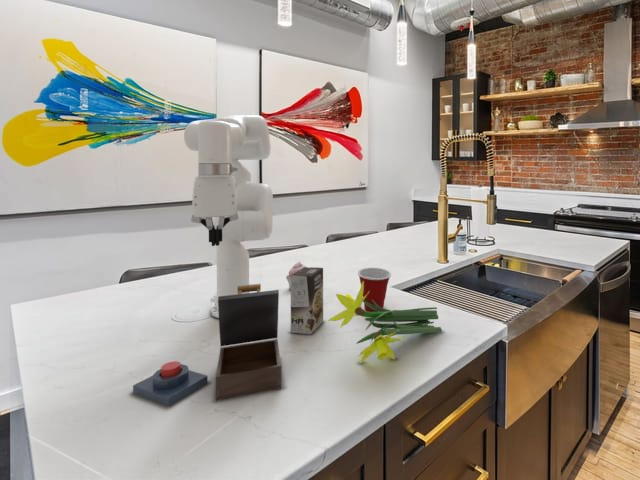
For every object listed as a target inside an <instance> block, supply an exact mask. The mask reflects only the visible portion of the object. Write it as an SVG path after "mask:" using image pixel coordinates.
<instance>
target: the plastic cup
mask: <svg viewBox="0 0 640 480" xmlns="http://www.w3.org/2000/svg"><path fill="white" fill-rule="evenodd" d="M357 275H358V277H359V282H360V285H361V284H362V282H363V281H364V288H363V297H364V296H366V295H367V296H366V297H365V299H364V301H366V302H368V303H370V304H372V305H374V306H376V305H375V304H374V302H375V303H376V304H377V305H378V306H380V307H381V308H382V309H384V307H385V306H384V305H385V301H386V295H387V289H388V284H389V281H390V278H391V277H392V272H391V271H389V270H387V269H385V268H381V267H364V268H361V269H358V270H357ZM368 292H369V293H368ZM363 297H362V298H363ZM372 300H373V301H374V302H373V301H372ZM363 305H364V309H365V311H368V312H378V311H375V310H373V309H371V308H370V307H369V306H367V305H366V304H365V303H364V302H363ZM376 307H377V306H376Z"/></svg>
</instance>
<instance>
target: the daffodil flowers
mask: <svg viewBox="0 0 640 480" xmlns="http://www.w3.org/2000/svg"><path fill="white" fill-rule="evenodd" d="M363 288H364V281H363V282H362V284H361V283H360V288H359V291H358V292H357V295H356V298H355V299H354V298H353V297H352V295H351V294H350V293H347V294H345V295H343V294H339V293H335V294H336V298H337V300H338V301H339V303H340V305H342V306H343V307H344V308H346V309H344V310H342V311H341V312H339V313H337V314H336V315H334V316H332V317H331V318H329V319H328V320H327V322H337V321H341V320H343V321H342V322H341V324H340V326H339V329H341V328H342V327H344V326H346V325H348V324H349V322H350V321H351V320H352V319H353V317H354V316H355V317H359V316H360V317H364V320H365V321H366V322H369V324H368V325H367V327H366V328H365V331H367V330H368V329H369V328H370V327H371V326H372V327H374V328H378V329H379V330H378V331H374V332H372V333H368V334H367V335H365V336H364V337H362V338H361V339H359V340H358V341H357V342H356V344H362V343H364V342H366V341H370V342H371V344H369V346H367V347H365V348H364V349H362V350H361V351H360V353H359V354H358V356H357V358H359V357H360V356H361V358H360V364H362V363H363V362H364V361H366V360H367V359H368V358H369V357H370V356H371V355H372V354H374V353H375V352H376V351H377V359H378V360H379V361H382V360H383V361H384V360H386V359H388V357H389V358H390V359H392V360H396V357H395V354H394V352H393V350H392V348H391V346H390V344H393V343H395V342H401V341H403V342H404V341H405V342H406V341H408V340H409V338H400V337H393V336H399V335H401V336H402V335H416V334H417V335H418V334H434V333H435V334H436V333H442V328H441V326H435V325H433V324H434V323H435V321H432V320H439V314H438V307H437V306H435V307H434V306H433V307H420V308H410V309H409V308H408V309H393V310H392V309H391V310H390V309H387V308H383V309H382V308H381V307H380V306H378V305H377V304H376V303H375V302H374V301H373V300H372V301H373V302H374V304H375V305H376V306H377V307H376V306H374V305H372V304H370V303H368V302H366V301H364V299H365V297H366V296H367V295H366V296H364V297H363ZM368 293H369V292H368ZM362 303H363V304H364V303H365V304H366V305H367V306H369V307H370V308H371V309H373V310H375V311H378V312H369V311H366V310H364V309H363V308H362Z"/></svg>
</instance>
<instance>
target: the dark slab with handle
mask: <svg viewBox="0 0 640 480" xmlns="http://www.w3.org/2000/svg"><path fill="white" fill-rule="evenodd" d="M261 287H262V286H261V283H253V284H252V283H251V284H249V285H242V286H238V294H236V295H227V296H219V297H218V311H219V318H218V330H219V344H220V345H219V346H220V347H227V346H234V345H240V344H247V343H254V342H260V341H267V340H273V339H278V335H279V334H278V333H279V332H278V331H279V330H278V329H279V301H280V300H279V299H280V293H279V292H280V291H279V289H274V290H273V289H272V290H263V291H261V289H262V288H261ZM244 292H249V293H245V294H242V293H244Z"/></svg>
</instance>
